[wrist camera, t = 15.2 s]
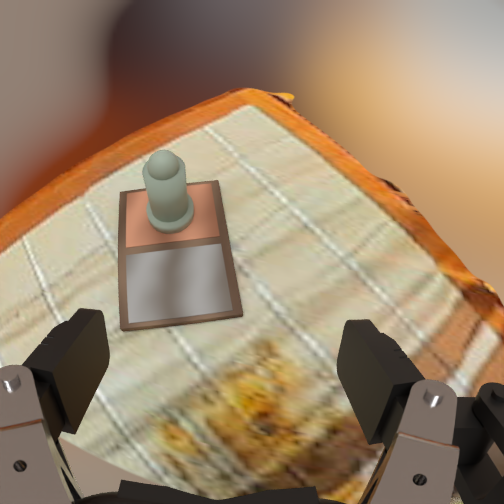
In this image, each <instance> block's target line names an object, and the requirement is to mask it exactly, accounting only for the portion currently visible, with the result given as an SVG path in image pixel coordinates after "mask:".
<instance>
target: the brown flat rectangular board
mask: <svg viewBox="0 0 504 504" xmlns="http://www.w3.org/2000/svg"><path fill="white" fill-rule="evenodd" d="M186 184H187V193H188V194H189V195H190V197H191V198H192V201H193V206H194V217H193V220H192V222H191V224H190V225H189V226H188V227H187V228H186V229H184V230H182V231H180V232H178V233H174V234H164V233H161V232H158V231H156V230H155V229H154V228H153V227H152V226H151V224H150V222H149V219H148V216H147V212H146V207H147V203H148V201H149V199H148V195H147V191H146V188H145V189H138V190H130V191H124V192H120V201H119V226H118V289H119V314H120V329H121V330H122V331H131V330H141V329H150V328H159V327H168V326H176V325H184V324H192V323H200V322H208V321H215V320H222V319H229V318H236V317H242V316H243V311H242V306H241V301H240V295H239V290H238V285H237V280H236V274H235V269H234V264H233V259H232V253H231V248H230V242H229V237H228V232H227V226H226V221H225V215H224V209H223V204H222V198H221V193H220V187H219V181H218V180H215V181H205V182H195V183H186Z"/></svg>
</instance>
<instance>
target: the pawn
mask: <svg viewBox="0 0 504 504" xmlns="http://www.w3.org/2000/svg"><path fill="white" fill-rule="evenodd" d="M142 173H143V178H144V182H145V186H146V191H147V195H148V199H149V201H148V203H147V207H146V212H147V216H148V219H149V222H150V224H151V226H152V227H153V228H154V229H155V230H156V231H158V232H161V233H164V234H174V233H178V232H180V231H182V230H184V229H186V228H187V227H188V226H189V225H190V224H191V222H192V220H193V217H194V206H193V201H192V198H191V197H190V195H189V194H188V193H187V184H186V172H185V164H184V162H183V160H182V159H181V158H179V157H178V156H176V155H175V154H174V153H172V152H171V151H168V150H159V151H157V152H155V153H154V154H152V155H151V157H150V158H149V160H148V161H147V162H146V164H145V165H144V167H143V171H142Z"/></svg>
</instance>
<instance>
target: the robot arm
mask: <svg viewBox="0 0 504 504" xmlns="http://www.w3.org/2000/svg"><path fill="white" fill-rule="evenodd" d="M109 359H110V352H109V345H108V339H107V333H106V327H105V321H104V315H103V313H102V311H101V310H94V309H84V308H80V309H78V310H77V312H76V313H75V314H74V315H73V316H72V317H71V318H70V320H69V321H64V322H63V323H61V324H59V325H57V326H56V327H54V328H53V329H52V330H51V332H50V333H49V334H48V335H47V337H45V338H44V340H43V341H42V342H41V344H39V345H38V346H37V348H36V349H35V350H34V351H33V352H32V353H31V355H30V356H29V357H28V358H27V359H26V361H25V362H24V363H23V364H22V365H9V366H5V367H2V368H0V504H345V503H342V502H338V501H334V500H328V499H320V498H318V495H317V491H316V487H315V486H313V487H304V488H293V489H278V490H266V491H262V492H258V493H253V494H249V495H244V496H239V497H234V498H229V499H223V500H214V499H209V498H205V497H201V496H198V495H194V494H190V493H187V492H183V491H180V490H177V489H174V488H170V487H167V486H158V485H151V484H143V483H138V482H132V481H126V480H121V483H120V487H119V491H118V492H107V493H100V494H96V495H91V496H88V497H84V495H83V493H82V491H81V489H80V487H79V485H78V483H77V481H76V479H75V477H74V474H73V472H72V470H71V467H70V465H69V463H68V460H67V458H66V455H65V453H64V450H63V447H62V445H61V442H60V440H59V436H60V433H61V431H63V432H66V433H70V434H76V432H77V430H78V428H79V425H80V423H81V421H82V419H83V417H84V415H85V413H86V411H87V409H88V406H89V404H90V402H91V400H92V398H93V396H94V394H95V392H96V390H97V388H98V386H99V384H100V382H101V380H102V378H103V376H104V374H105V372H106V370H107V368H108V365H109ZM337 374H338V377H339V379H340V381H341V384H342V386H343V388H344V390H345V392H346V395H347V397H348V399H349V401H350V403H351V406H352V408H353V410H354V412H355V415H356V417H357V419H358V421H359V424H360V426H361V428H362V430H363V433H364V435H365V437H366V439H367V442H368V444H369V445H371V444H377V443H382V442H383V444H384V446H385V448H384V450H383V452H382V454H381V456H380V458H379V461H378V463H377V465H376V467H375V470H374V472H373V474H372V476H371V478H370V480H369V483H368V485H367V487H366V489H365V491H364V493H363V495H362V497H361V499H360V500H359V502H358V504H450V500H451V496H453V497H459V498H461V499H462V501H463V503H464V504H504V385H502V384H499V383H486V384H484V385H482V386H481V388H480V390H479V392H478V394H477V396H476V397H457V396H456V394H455V392H454V391H453V389H452V388H451V387H449V386H448V385H446V384H444V383H442V382H440V381H436V380H426V379H425V378H424V377H423V375H422V374H421V373H420V372H419V370H418V369H417V368H416V366H415V365H414V364H413V363H412V361H411V360H410V359H409V358H407V355H406V354H405V353H404V351H402V349H401V348H400V346H399V345H398V344H397V343H396V341H395V340H393V339H392V338H390V337H389V336H387V335H386V334H384V333H380V332H379V331H378V329H377V328H376V327H375V326H374V324H373V323H372V322H371V321H370V320H369V319H364V320H347V321H346V323H345V326H344V330H343V335H342V340H341V344H340V349H339V353H338V358H337Z"/></svg>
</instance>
